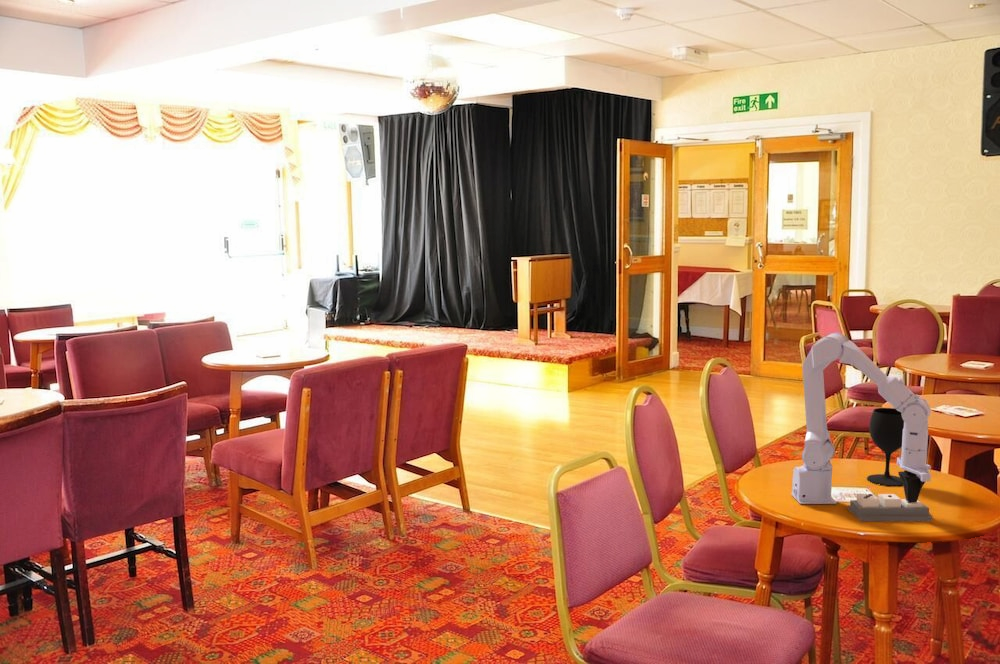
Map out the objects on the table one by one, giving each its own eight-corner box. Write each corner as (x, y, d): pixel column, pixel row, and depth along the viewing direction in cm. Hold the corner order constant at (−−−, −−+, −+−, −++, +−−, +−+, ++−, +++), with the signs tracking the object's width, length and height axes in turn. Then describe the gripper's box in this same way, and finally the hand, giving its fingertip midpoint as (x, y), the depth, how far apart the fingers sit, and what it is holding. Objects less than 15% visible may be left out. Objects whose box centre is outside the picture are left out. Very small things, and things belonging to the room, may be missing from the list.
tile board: (861, 521, 220) (862, 510, 220) (847, 509, 229) (848, 498, 229) (931, 521, 220) (931, 510, 220) (914, 508, 229) (915, 498, 229)
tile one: (884, 508, 222) (885, 498, 222) (877, 503, 226) (878, 493, 226) (900, 508, 222) (901, 498, 222) (893, 503, 226) (894, 493, 226)
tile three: (862, 508, 223) (863, 498, 222) (856, 503, 226) (856, 493, 226) (878, 508, 222) (879, 498, 222) (872, 503, 226) (872, 493, 226)
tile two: (906, 513, 223) (906, 503, 222) (899, 508, 227) (899, 498, 226) (922, 513, 223) (923, 503, 222) (915, 508, 226) (915, 498, 226)
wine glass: (900, 476, 257) (904, 407, 254) (911, 487, 246) (916, 416, 244) (862, 474, 258) (866, 406, 255) (872, 486, 248) (875, 415, 245)
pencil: (909, 495, 240) (929, 519, 222) (911, 491, 240) (931, 516, 222) (912, 496, 240) (932, 521, 222) (914, 493, 240) (935, 517, 221)
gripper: (944, 456, 215) (941, 510, 217) (917, 440, 229) (914, 491, 231) (915, 456, 215) (911, 510, 217) (889, 440, 229) (887, 492, 231)
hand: (911, 501), depth 224 cm, fingers closed, pressing on tile two
